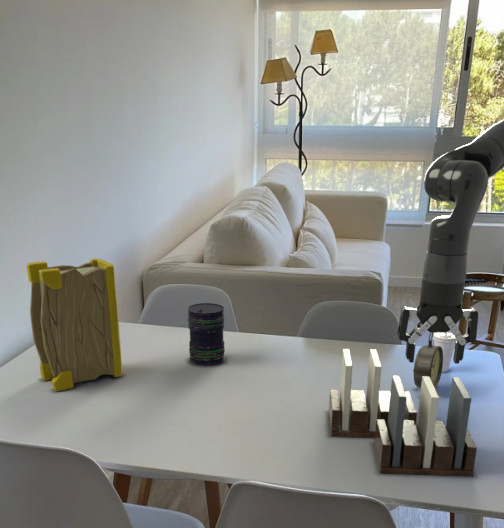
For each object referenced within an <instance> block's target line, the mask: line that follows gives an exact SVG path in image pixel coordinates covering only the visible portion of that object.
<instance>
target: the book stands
mask: <svg viewBox="0 0 504 528" xmlns="http://www.w3.org/2000/svg"><path fill="white" fill-rule="evenodd" d="M404 391H405V390H404ZM390 394H391V390H379V401H378V412H377V420H376V431H369V427H368V407H367V402H366V394H365V390H364V389H351V396H350V410H349V425H348V431H342V429H341V421H340V405H339V404H340V396H339V391H338V389H335V388H334V389H332V388H331V389H329V402H328V403H329V404H328V406H329V407H328V418H329V419H328V420H329V429H330V437H336V438H337V437H339V438H341V437H342V438H374V440H373V446H374V450H375V455H376V459H377V464H378V468H379V473H380V474H389V475H390V474H392V475H393V474H394V475H420V476H421V475H424V476H428V475H429V476H454V477H455V476H456V477H457V476H458V477H474V474H475V471H474V469H475V462H476V456H477V450H478V447H477V444H476V443H475V441H474V439H473V437H472V435H471V434H470V431H469V429H468V428H467V431H466V438H465V445H464V451H463V458H462V465H461V469H454V468H453V465H452V460H453V453H454V445H453V443H452V441H451V439H450V436H449V434H448V432H447V429H446V424H445V422H444V421H443V420H436V425H435V433H434V440H433V448H432V456H431V464H430V468H423V467H422V464H421V457H422V449H423V446H422V443H421V440H420V437H419V434H418V431H417V429H416V426H417V418H418V410H417V409H416V406H415V403H414V401H413V398H412V395H411V392H410V391H409V390H408V391H407V390H406V391H405V394H406V397H407V398H406V407H405V417H404V426H403V435H402V445H401V454H400V463H399V467H392V464H391V460H390V455H391V442H390V438H389V434H388V431H387V425H388V415H389V404H390Z"/></svg>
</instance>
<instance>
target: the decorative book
mask: <svg viewBox="0 0 504 528" xmlns="http://www.w3.org/2000/svg"><path fill="white" fill-rule="evenodd" d="M26 271H27V277H28V282H29V283H31V284H30V285H31V286H30V307H29V312H30V313H29V315H30V316H29V317H30V323H31V332H32V333H31V334H32V340H33V343H34V346H35V349H36V351H37V354H38V357H39V361H40V362H39V370H40V371H39V372H40V376H41V379H42V380H43V381H45V382H46V381H50V382H51V386H52V387H53V389H54V391H55V392H61V391H66V390H71V389H74V388H75V386H74V384H75V383H81V382H86V381H94V380H96V379H98V378H99V377H100V376H102V375H110V376H112V377H114V378H118V377H121V376H123V365H122V364H123V363H122V349H121V335H120V334H121V333H120V321H119V310H118V309H119V308H118V299H117V297H118V296H117V285H116V274H115V264H113V263H111V262H109V261H106V260H104V259H102V258H92V259H89V262H84V263H83V264H80V265H78V266H74V265H70V264H68V265H66V264H61V265H60V264H59V265H54V266H48V263H47V262H46V261H45V260H44V261H43V260H42V261H34V262H27V263H26Z"/></svg>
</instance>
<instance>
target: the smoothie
mask: <svg viewBox="0 0 504 528" xmlns="http://www.w3.org/2000/svg"><path fill="white" fill-rule="evenodd" d="M432 340H433V345H435V346H441V348H442V350H443V367H442V373H447V372H449V370H450V366H451V363H452V359H453V356H454V350H455V343H456V342H457V339H456V337H455V336H454V334H453V333H452V332H450V331H448V332H447V333H442V332H433V337H432Z"/></svg>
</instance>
